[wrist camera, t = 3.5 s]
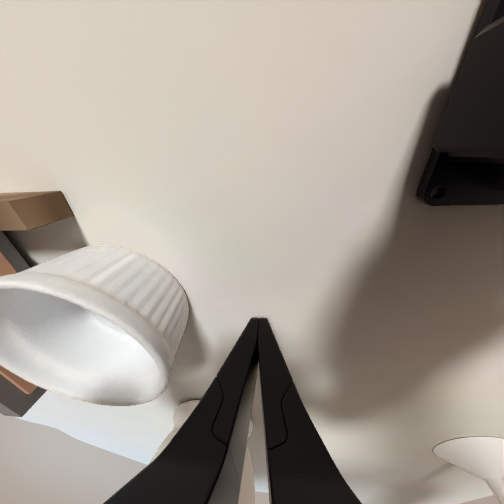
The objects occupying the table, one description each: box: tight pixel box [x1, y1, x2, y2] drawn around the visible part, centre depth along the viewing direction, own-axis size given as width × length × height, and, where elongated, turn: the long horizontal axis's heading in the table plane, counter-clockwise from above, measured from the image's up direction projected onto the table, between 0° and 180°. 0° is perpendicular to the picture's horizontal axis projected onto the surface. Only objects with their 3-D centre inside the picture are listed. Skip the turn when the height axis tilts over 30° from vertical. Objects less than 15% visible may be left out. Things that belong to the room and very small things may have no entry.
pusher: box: [0, 231, 47, 417], centre depth 10 cm, size 2×10×4 cm, turn 2°
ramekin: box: [0, 245, 189, 406], centre depth 10 cm, size 9×9×4 cm
